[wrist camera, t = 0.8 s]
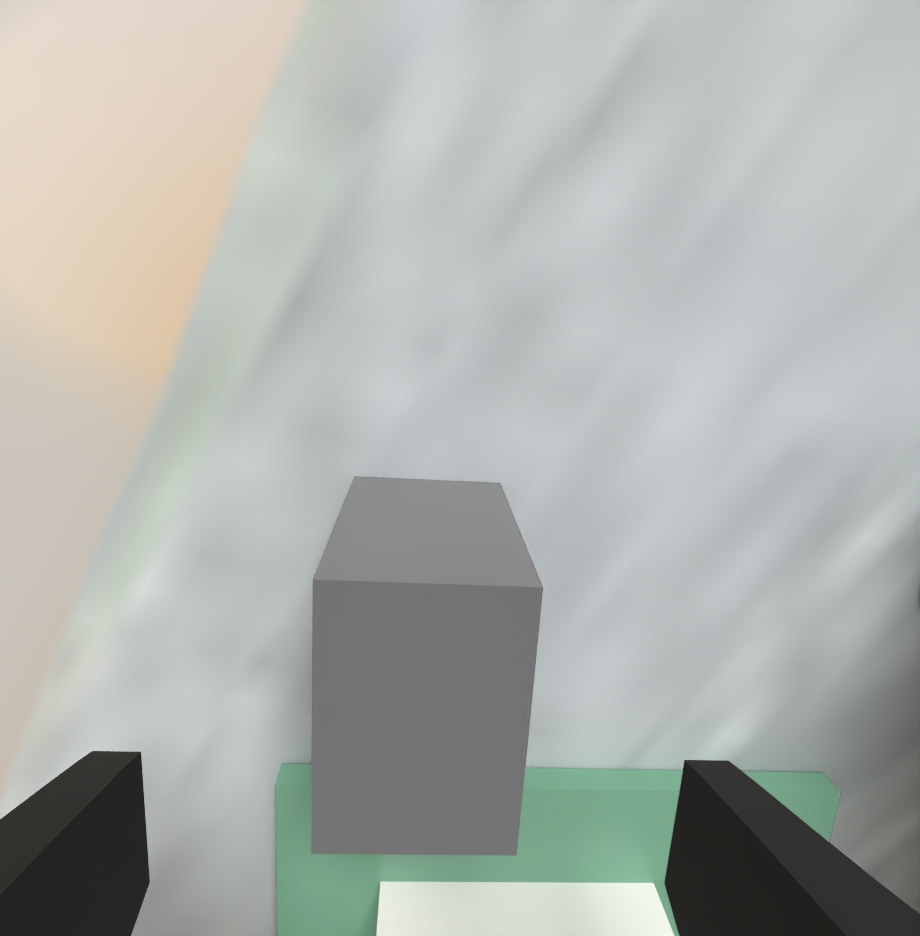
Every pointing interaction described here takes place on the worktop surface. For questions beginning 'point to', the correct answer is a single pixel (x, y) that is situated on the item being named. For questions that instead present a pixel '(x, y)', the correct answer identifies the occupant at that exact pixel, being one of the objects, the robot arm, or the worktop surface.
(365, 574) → the plug
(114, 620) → the worktop surface
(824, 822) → the header board
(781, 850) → the robot arm
